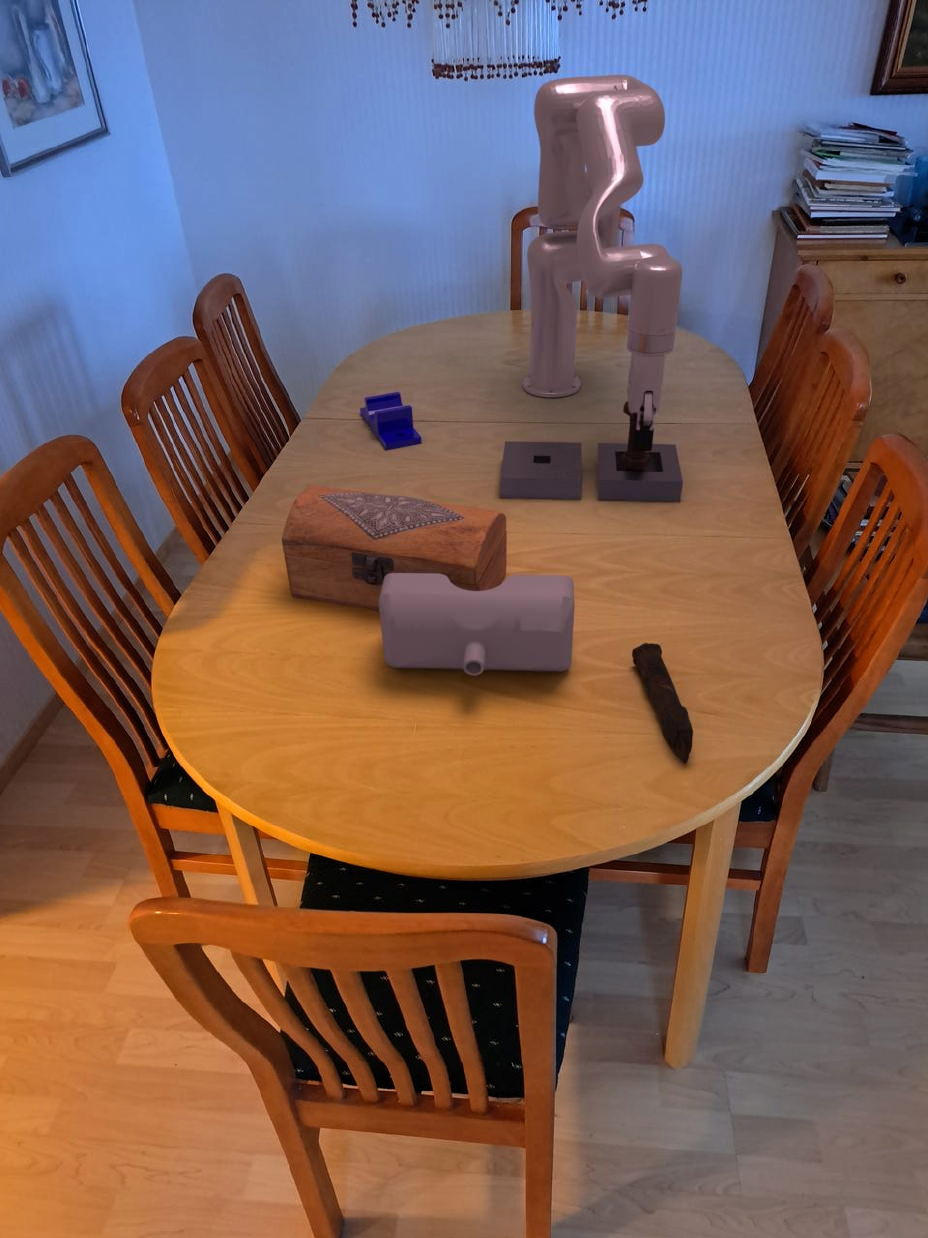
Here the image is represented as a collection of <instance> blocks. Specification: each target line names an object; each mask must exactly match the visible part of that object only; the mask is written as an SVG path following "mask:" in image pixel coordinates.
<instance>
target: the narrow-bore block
mask: <svg viewBox="0 0 928 1238" xmlns="http://www.w3.org/2000/svg"><path fill="white" fill-rule="evenodd" d="M582 458H583V457H582V442H571V441H569V442H568V441H567V442H566V441H558V442H557V441H554V442H553V441H515V440H513V441H508V440H505V441H504V447H503V455H502V462H501V469H500V477H499V479H500V480H499V482H500V483H499V486H500V487H499V488H500V489H499V492H500V494H499V495H500V497H499V498H500V499H535V500H540V499H541V500H570V501H571V500H572V501H573V500H575V501H577V500H578V501H582V500H581V499H582V485H583V484H582V482H583V474H582V472H583V471H582V470H583V469H582V466H583V465H582V464H583V462H582Z"/></svg>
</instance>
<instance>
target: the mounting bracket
mask: <svg viewBox="0 0 928 1238" xmlns="http://www.w3.org/2000/svg"><path fill="white" fill-rule="evenodd" d="M401 396H402V394H401V392H400V391H394V392H389V393H384V394H377V395H372V396H366V397H364V406H365V407H360V408H359V412H360V413H359V414H360V416H361V418H362V419H363V420H364V422H365V423H366V424H367V426H368V427H369V428H370V430H371V431H372V433H373V434H374V436H375V437H376V438H377V440H378V441H379V442H380V444H381V445H382V447H383V448H384V449H385V451H392V450H396V449H401V448H406V447H407V448H408V447H411V446H417V445H421V444H422V436H421V434H420V433H418V431H417V430H416V429H415V428H414V418H413V407H412V406H411V404H408V405H404V406H403V401H402V397H401Z"/></svg>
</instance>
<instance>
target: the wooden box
mask: <svg viewBox="0 0 928 1238" xmlns="http://www.w3.org/2000/svg"><path fill="white" fill-rule="evenodd" d="M507 535H508V531H507V517H506V514H505V513H503V512H502V511H497V510H491V509H484V508H479V507H472V506H471V507H470V506H463V505H457V504H449V503H441V502H435V501H430V500H424V499H420V498H419V499H418V498H416V497H415V498H414V497H411V496H404V495H396V494H395V495H391V494H382V493H381V494H380V493H374V492H365V491H359V490H350V489H349V490H348V489H343V488H342V489H341V488H333V487H332V488H331V487H325V486H321V485H320V486H319V485H310V486H308V487H307V488H305V489H303V491H301V492H300V494H298V495H297V497H295V499H294V502H293V504H292V505H291V507H290V509H289V513H288V516H287V519H286V521H285V525H284V528H283V531H282V535H281V545H282V551H283V554H284V555H283V556H284V561H285V566H286V572H287V573H286V574H287V579H288V584H289V585H288V586H289V590H290V595H291V597H292V598H296V599H302V600H308V601H313V602H321V603H328V604H333V605H339V606H345V607H352V608H358V609H365V610H370V611H376V612H379V597H380V593H381V589H382V585H383V580H384V577H385V576H386V575H387V574H390V573H434V574H443V575H445V576H447V577H448V579H449V580H450V582H451V583H452V584H453V585H455V586H457V587H459V588H461V589H464V590H469V591H485V590H489V589H493V588H495V587H497V586H499V585H501V584H502V583H503V580H504V579H505V577H506V574H507V550H508V549H507V542H508V539H507V537H508V536H507Z"/></svg>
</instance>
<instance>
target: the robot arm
mask: <svg viewBox="0 0 928 1238" xmlns="http://www.w3.org/2000/svg"><path fill="white" fill-rule="evenodd" d="M533 114H534V115H533V117H534V122H535V128H536V132H537V137H538V141H539V147H540V148H539V149H540V150H539V152H540V154H539V157H540V158H539V171H538V173H539V174H538V192H537V193H538V194H537V213H538V218H539V219H538V220H540V223H542V224H543V226H545V227H548V228H551V229H566V228H576V227H577V230H565V231H556V232H555V231H554V232H548V233H544V234H541V235H538V236H536V237H535V238H534V239H533V240H532V241H531V242H530V244H529V245H528V246H527V247H528V248H527V251H526V254H527V255H526V261H527V268H528V277H529V285H530V342H529V343H530V345H529V346H530V351H529V352H530V353H529V356H530V357H529V374H528V375H527V376H525V377H524V379H522V388H523V390H524V391H525V392H527V393H528V394H530V395H532V396H535V397H541V398H551V399H552V398H563V397H564V398H565V397H568V396H571V395H574V394H576V393H577V392H578V391H579V390H580V389H581V386H582V381H581V379H580V378H579V377H578V376H577V375H575V366H576V363H575V361H576V344H577V343H576V342H577V341H576V340H577V322H578V305H577V300H576V298H575V297H574V295H573V294H572V293H571V291H570V290H569V289H568V287H567V285H568V284H570V283H576V282H584V285H585V287H586V290H587V291H588V292H589V294H591V295H592V296H593V297H595V298H599V299H610V298H619V297H624V296H630V305H629V316H628V327H627V339H626V349H627V350H628V351H629V352H630V353H631V355H630V361H629V371H628V372H629V373H628V383H627V390H626V401H628V408H629V412H630V413H631V414H633V413H637V422H636V428H634V438H633V450H634V451H651V450H652V444H654V443H653V442H654V432H655V428H654V421H655V415H656V414H657V413H659V411H660V405H661V399H662V392H663V383H664V377H665V376H664V375H665V365H666V356H667V355H669V354H671V353H672V352H673V351H674V347H675V339H676V330H677V323H678V315H679V304H680V299H681V289H682V288H681V287H682V282H683V281H682V279H683V267H682V265H681V263H680V261H678V260H677V259H675V258H672V257H671V256H670V254H669V252H668V250H667V249H666V247H664V246H663V245H661V244H659V243H658V244H657V243H645V244H644V243H643V244H637V245H634V244H632V245H624V246H617V243H618V242H617V241H618V231H619V225H620V215H621V206H622V205H623V204H624V203H627V202H628V201H630V200H631V199H633V198H634V196H635V195H637V194H638V193H639V192H640V190H641V189H642V186H643V183H644V174H643V170H642V166H641V162H640V161H641V160H640V158H639V153H638V150H637V147H648V146H652V145H655V144H656V143H658V141H659V140H660V139H661V138H662V135H664V134H663V133H664V130H665V125H666V114H665V107H664V104H663V102H662V99H661V97H660V95H659V94H658V92H657V91H656V90H655V89H654V88H652V87H651V86H650V85H648V84H646V83H645V82H643V81H642V80H639V79H637V78H636V77H634V76H632V75H628V74H610V75H594V76H572V77H564V78H563V77H562V78H558V79H552V80H549V81H547V82H545V83H543V84H542V85H541V86H540V87H539V89H538V90H537V93H536V95H535V98H534V106H533ZM640 408H644V411H640ZM654 413H655V415H654ZM641 415H643V419H641V421H640V417H641Z"/></svg>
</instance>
